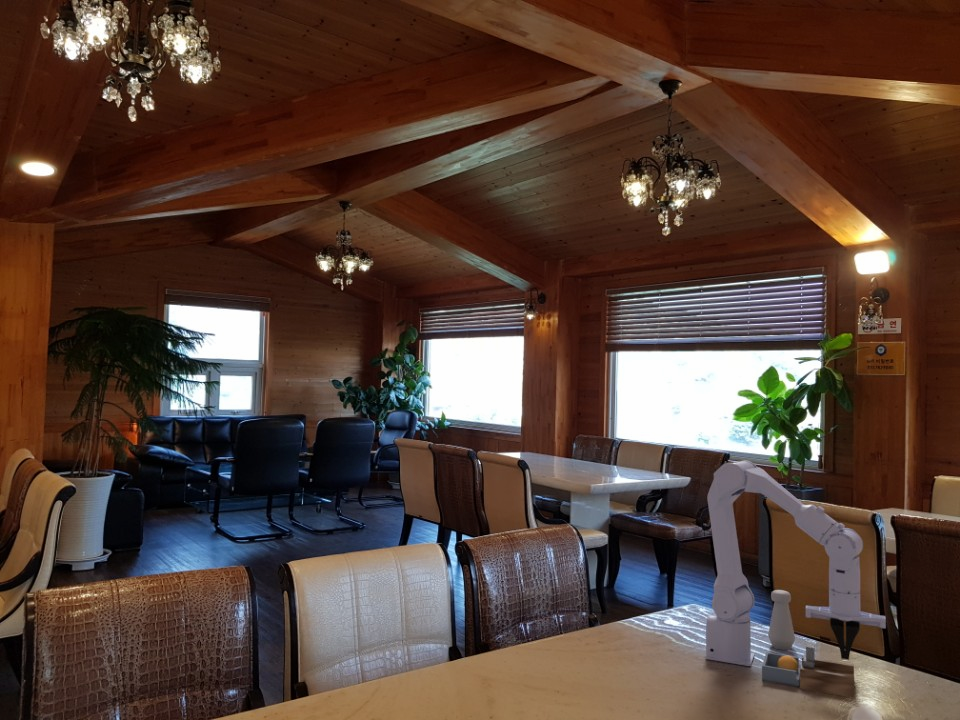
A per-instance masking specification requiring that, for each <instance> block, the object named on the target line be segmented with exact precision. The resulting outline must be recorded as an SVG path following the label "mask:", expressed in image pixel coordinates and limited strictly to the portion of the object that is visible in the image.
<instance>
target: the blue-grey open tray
mask: <svg viewBox="0 0 960 720" xmlns="http://www.w3.org/2000/svg"><path fill="white" fill-rule="evenodd" d="M782 656H786V654H781V653H774V652H765V655H764V658H763V661H762V665H761V681H762V682H767V683H773V684H779V685H784V686H791V687H796V688H800V667H801V668H802V664H800V663H799V662H800V661H799V660H800V659H799V657H798V656H793V655H790V656H791V657H793V658H794V659H795V660H796V661H797V663H798V672H797V673H796V671H794V670H788V669H782V668H778V661H779V659H780V658H781V657H782Z"/></svg>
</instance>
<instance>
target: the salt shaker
mask: <svg viewBox="0 0 960 720" xmlns="http://www.w3.org/2000/svg"><path fill="white" fill-rule="evenodd" d="M770 597H771V600H772V602H774V603H773V608H772V613H771V617H770V624H769V629H768V633H767V636H768V639H769V641H770V644H771V646H772V648H774V649H777V650H779V651H789V650H791V649H792V648H793V646H794V643H795V642H796V641H795V640H796V637H795V632H794V626H793V620H792V615H791V611H790V606H789V603H791V601H792V597H791V593H790V592H789V591H786V590H783V589H775V590H773V591H771V594H770Z"/></svg>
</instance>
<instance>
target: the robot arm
mask: <svg viewBox="0 0 960 720" xmlns="http://www.w3.org/2000/svg"><path fill="white" fill-rule="evenodd" d="M744 492H745V493H755V494H761V495H763V496H765V497H766V498H767V499H769V500H770V501H772V502H773V503H775V504H776V505H778V506H779V507H780V508H782V509H783V510H784V511H786V512H787V513H789V514H790V515H792V516H793V519H794V522H795V526H797V528H799V529H800V530H802V531H803V532H804V533H806V535H808V536H809V537H810V538H812V539H813V540H815V542H817V543H818V544H820V545H821V546H823V547H824V551H825V553H826V554H827V556H828V558H829V559H828V562H829V563H828V565H829V566H828V606H814V605H813V606H812V605H805V618H808V619H809V618H810V619H811V618H816V619H822V620H829V623H830V624H829V625H830V628H831V630H832V632H833V634H834V636H835V639H836V641H837V644H838V648H839V651H840V659H841V660H850V653H851V650H852V646H853V643H854V641H855V640H856V637H857V635H858V634H859V632H860V629H861V628H860V625H866V626H873V627H879V628H880V629H886V628H887V627H886V626H887V624H886V623H887V620H886V615H879V614H874V613H870V612H865V611H861V567H860V556H859V555H860V553H861V552H862V551H863V549H864V541H863V538H862V537H861V536H860V535H859V534H858V533H857V532H856V530H854V529H852V528H848V527H845V526H846V525H845V524H843V523H842V522H840V523H838V521H836V520H835V519H833V518H832V517H831V516H830V515H828V514H827V513H826V512H825V508H824V507H822V505H821V506H820V505H819V506H816V505H815V504H804V503H803V502H802V501H801V500H799V499H798V498H797V497H796V496H794V495H793V493H791V492H790V491H788V489H786V488H784V486H782V485H781V483H779V482H777V480H776V479H774V478H773V477H772V476H770V474H769V473H767V472H766V471H765V469H763V468H761V467H758V466H757V465H756V464H755V463H754V462H752V461H750V460H746V459H745V460H739V461H736V462H726V463H723V464H722V465H721V466H720V467H719V468H718V469H717V470H716V471H714V472H713V480H712V482H711V485H710V488H709V490H708V493H707V504H708V505H707V507H708V513H709V514H708V515H709V520H710V527H711V534H712V542H713V549H714V550H713V551H714V558H715V563H716V564H715V565H716V572H717V576H716V579H715V581H714V584H713V597H712V600H711V607H712V610H713V612H714V614H708V615H707V616H706V623H705V626H706V627H705V630H706V631H705V659H706V660H710V661H715V662H716V661H717V662H720V663H721V662H723V663H727V664H728V663H729V664H734V665H739V666H746V667H751V665H752V662H753V660H754V658H755V653H754V652H752V651H751V650H752V649H751V646H752V645H751V639H752V638H751V637H752V636H751V615H750V612H751V610H752V609H753V608H754V606H755V595H754V593H753V592H752V589H751V588H750V587H749V581H748V579H747V577H746V576H745V575H744V574H743V569H742V568H743V567H742V562H741V555H740V549H739V541H738V540H739V539H738V535H737V533H738V532H737V529H736V528H737V525H736V518H735V513H734V505H733V503H734V502H735V501H737V499H738V498H739V497H740V496H741V495H742V494H743V493H744Z"/></svg>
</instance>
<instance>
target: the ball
mask: <svg viewBox="0 0 960 720" xmlns="http://www.w3.org/2000/svg"><path fill="white" fill-rule="evenodd" d="M785 655H786V654H785ZM791 656H792V655H786V656H782V657H781V658H780V659H779V661H778V668H782V669H788V670H794V671H796V673H797V672H798V663H797V661H796V660H795V659H794V658H793V657H794V656H793V657H791Z"/></svg>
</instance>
